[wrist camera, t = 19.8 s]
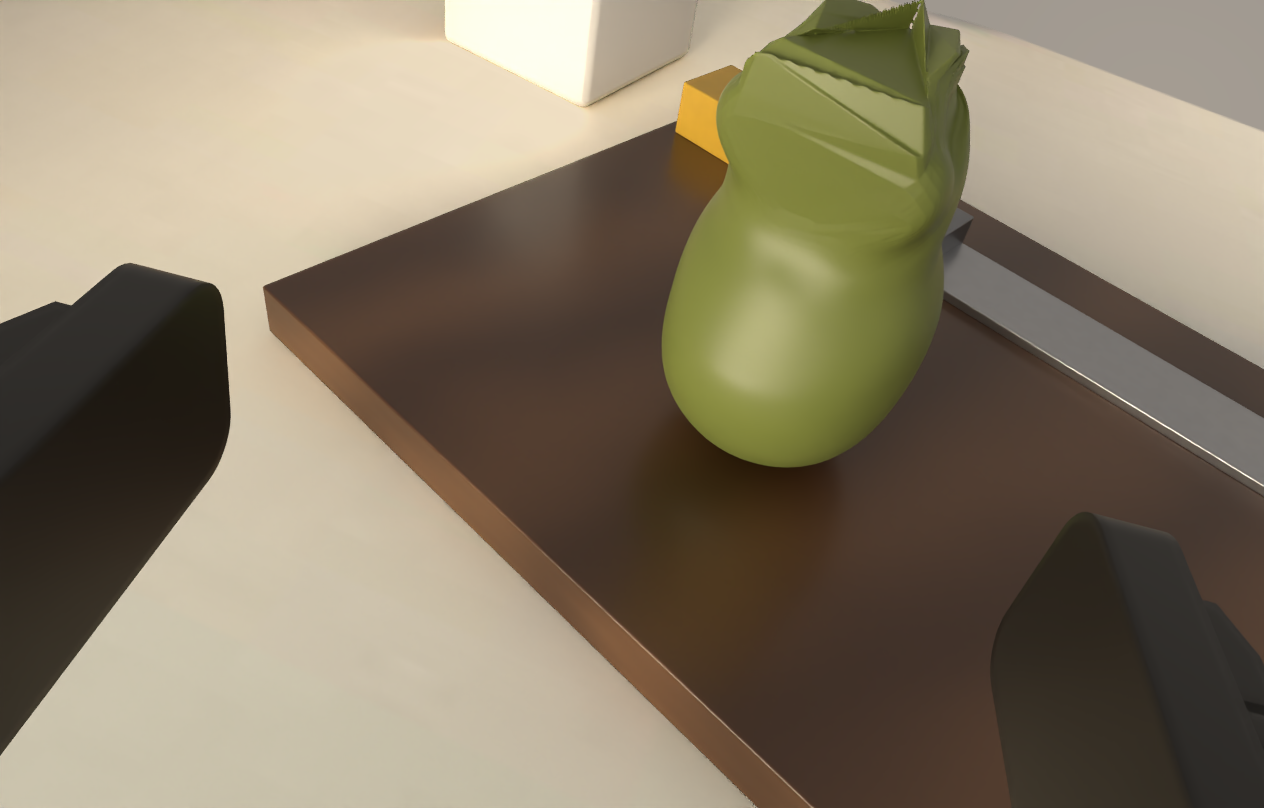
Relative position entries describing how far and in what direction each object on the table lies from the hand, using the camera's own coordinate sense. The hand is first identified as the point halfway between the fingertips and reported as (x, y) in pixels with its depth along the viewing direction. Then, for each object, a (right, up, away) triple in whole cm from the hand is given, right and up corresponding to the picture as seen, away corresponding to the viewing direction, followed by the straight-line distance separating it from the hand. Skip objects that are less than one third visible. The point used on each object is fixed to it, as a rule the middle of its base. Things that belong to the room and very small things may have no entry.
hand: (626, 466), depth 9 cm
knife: (+10, +4, +19) cm, 22 cm away
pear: (+3, 0, +14) cm, 15 cm away
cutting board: (+6, 0, +17) cm, 18 cm away
